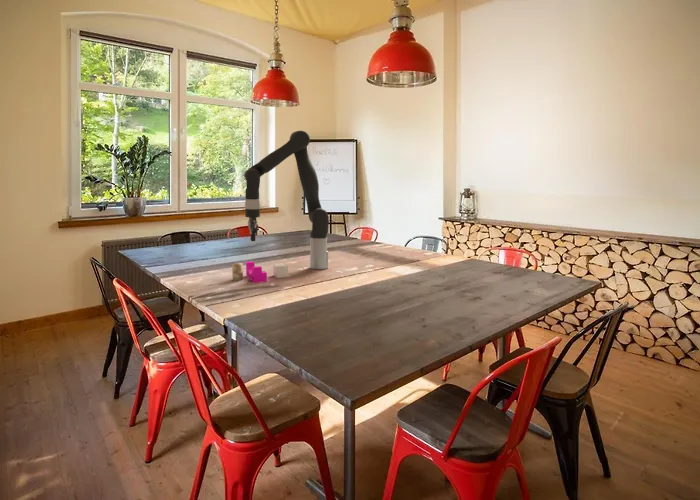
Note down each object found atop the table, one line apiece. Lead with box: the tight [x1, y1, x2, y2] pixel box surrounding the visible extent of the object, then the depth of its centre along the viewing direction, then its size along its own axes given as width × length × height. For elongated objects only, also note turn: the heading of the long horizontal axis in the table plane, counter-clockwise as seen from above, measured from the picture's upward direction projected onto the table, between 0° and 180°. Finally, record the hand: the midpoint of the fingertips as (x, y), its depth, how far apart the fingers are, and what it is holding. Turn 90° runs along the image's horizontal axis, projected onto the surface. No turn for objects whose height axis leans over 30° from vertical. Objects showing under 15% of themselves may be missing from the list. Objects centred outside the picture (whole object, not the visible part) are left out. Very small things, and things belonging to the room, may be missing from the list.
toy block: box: [245, 261, 268, 284], centre depth 229 cm, size 15×6×8 cm, turn 28°
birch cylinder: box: [231, 262, 244, 282], centre depth 226 cm, size 5×5×8 cm
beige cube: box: [272, 262, 289, 279], centre depth 235 cm, size 6×6×6 cm
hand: (252, 240), depth 240 cm, fingers closed
